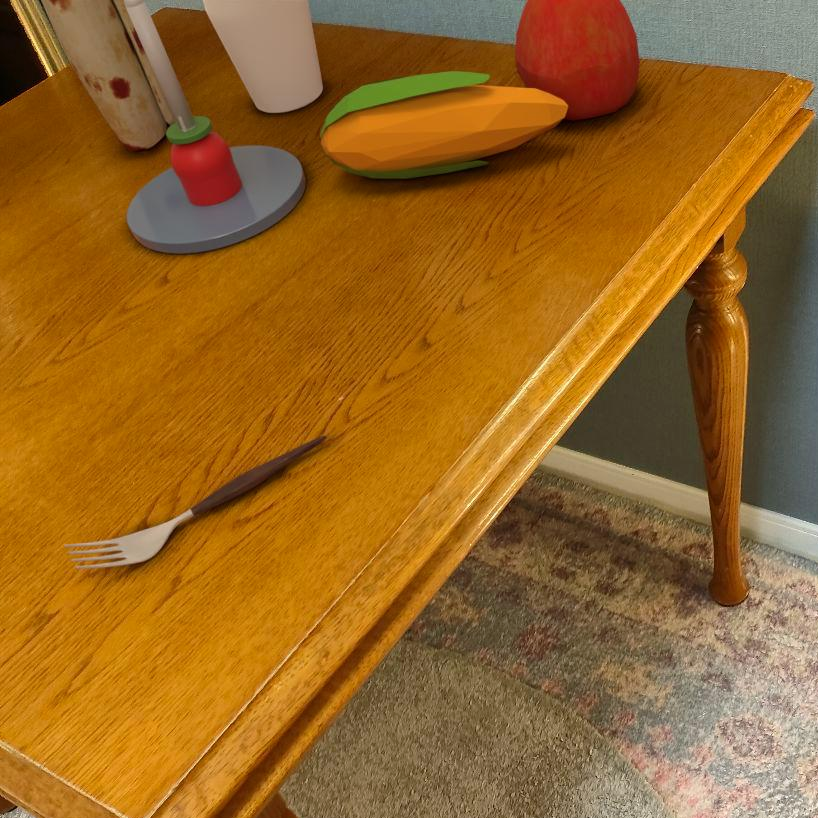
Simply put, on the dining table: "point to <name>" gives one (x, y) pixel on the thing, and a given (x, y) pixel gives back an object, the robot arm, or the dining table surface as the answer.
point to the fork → (185, 515)
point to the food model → (112, 68)
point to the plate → (224, 222)
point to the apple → (579, 54)
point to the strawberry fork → (187, 126)
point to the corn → (433, 124)
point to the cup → (270, 50)
